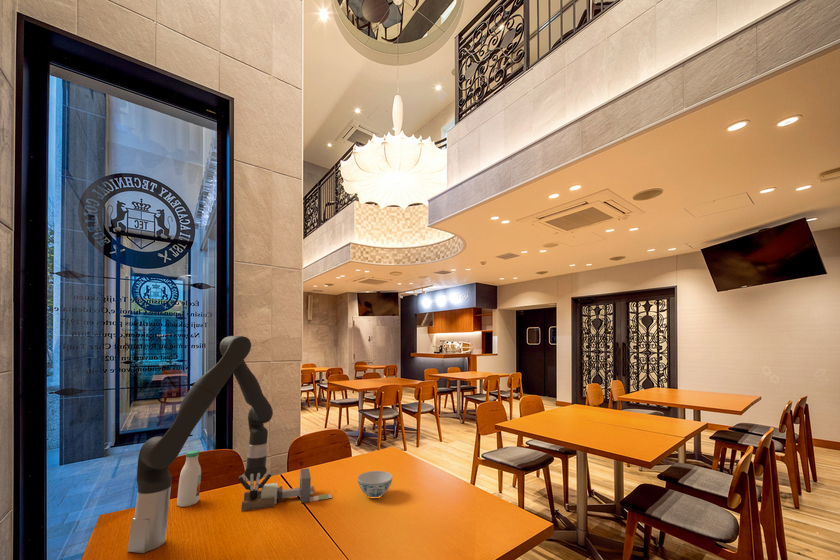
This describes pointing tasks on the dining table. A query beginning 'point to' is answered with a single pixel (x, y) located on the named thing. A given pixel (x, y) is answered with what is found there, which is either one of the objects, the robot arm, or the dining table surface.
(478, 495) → the dining table surface
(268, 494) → the block
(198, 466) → the milk bottle
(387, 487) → the chinaware
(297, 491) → the plunger
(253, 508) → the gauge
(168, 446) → the robot arm
